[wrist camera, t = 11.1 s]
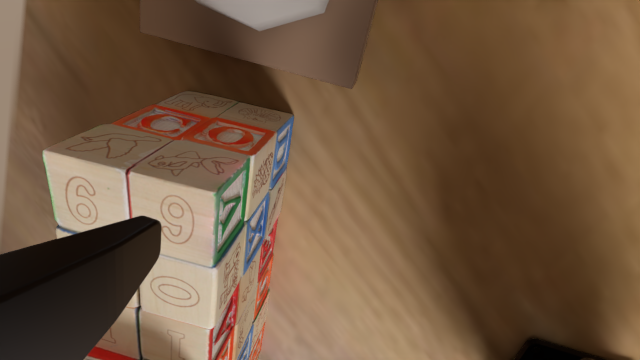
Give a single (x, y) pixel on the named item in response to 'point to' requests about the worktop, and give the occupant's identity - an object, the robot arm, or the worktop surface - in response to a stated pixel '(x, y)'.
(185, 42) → the plinth
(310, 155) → the worktop surface
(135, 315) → the stack of blocks
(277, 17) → the flask
